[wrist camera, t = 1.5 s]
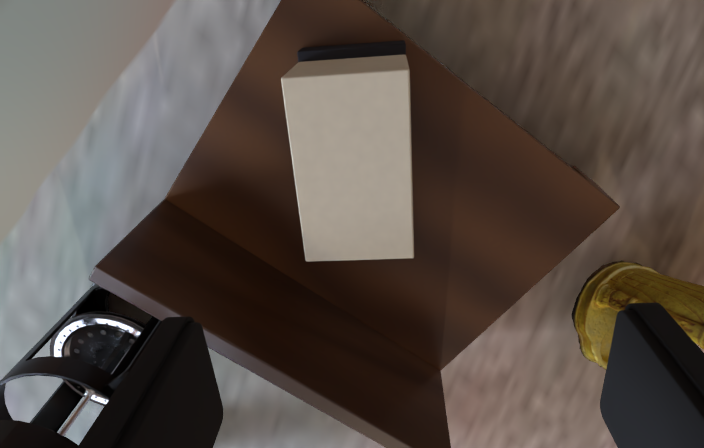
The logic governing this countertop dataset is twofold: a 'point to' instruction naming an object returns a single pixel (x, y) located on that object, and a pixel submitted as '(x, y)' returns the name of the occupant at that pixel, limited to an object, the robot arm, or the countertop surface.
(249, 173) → the shoe shelf
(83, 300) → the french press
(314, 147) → the beige cuboid
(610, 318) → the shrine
